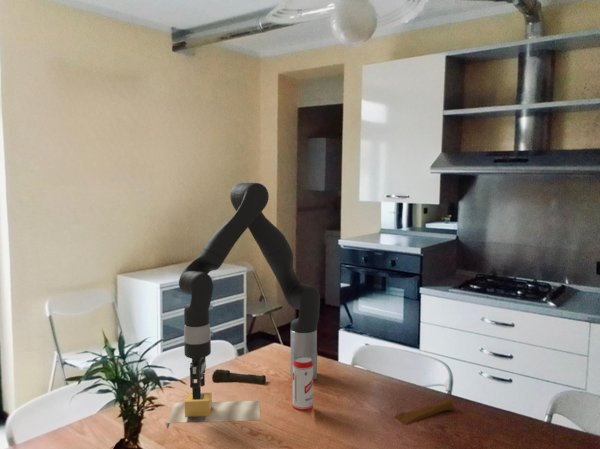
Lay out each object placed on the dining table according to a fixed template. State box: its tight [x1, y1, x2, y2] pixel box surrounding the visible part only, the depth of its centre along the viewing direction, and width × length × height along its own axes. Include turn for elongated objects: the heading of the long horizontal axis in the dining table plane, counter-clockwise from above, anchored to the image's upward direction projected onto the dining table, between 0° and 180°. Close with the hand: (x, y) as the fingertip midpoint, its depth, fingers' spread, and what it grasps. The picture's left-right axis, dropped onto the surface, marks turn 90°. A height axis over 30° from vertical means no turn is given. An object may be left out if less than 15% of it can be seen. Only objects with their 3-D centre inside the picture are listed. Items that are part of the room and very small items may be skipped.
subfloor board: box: [166, 400, 261, 429], centre depth 140 cm, size 26×12×2 cm, turn 94°
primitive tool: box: [394, 398, 454, 426], centre depth 142 cm, size 19×6×4 cm, turn 115°
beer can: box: [292, 356, 314, 412], centre depth 143 cm, size 6×6×16 cm
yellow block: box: [184, 392, 213, 417], centre depth 139 cm, size 7×6×5 cm
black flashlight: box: [211, 368, 267, 386], centre depth 162 cm, size 19×4×5 cm, turn 75°
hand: (198, 392), depth 139 cm, fingers open, 8 cm apart
